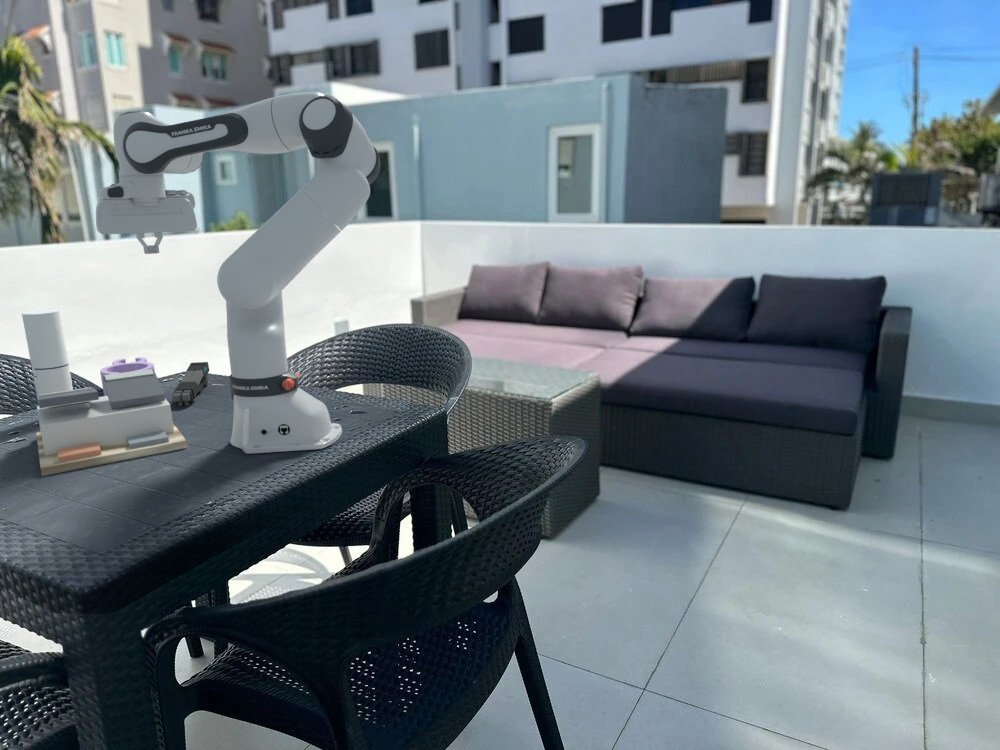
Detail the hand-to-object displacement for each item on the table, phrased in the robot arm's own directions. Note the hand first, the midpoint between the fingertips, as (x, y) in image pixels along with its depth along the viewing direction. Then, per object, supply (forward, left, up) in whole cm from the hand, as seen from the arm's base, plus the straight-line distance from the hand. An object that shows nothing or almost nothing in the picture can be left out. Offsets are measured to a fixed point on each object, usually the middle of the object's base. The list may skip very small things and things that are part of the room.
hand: (151, 253), depth 159 cm
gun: (+1, -13, -38) cm, 40 cm away
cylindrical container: (+24, +6, -37) cm, 45 cm away
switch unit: (+2, +23, -37) cm, 44 cm away
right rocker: (-1, +17, -27) cm, 32 cm away
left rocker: (+8, +24, -27) cm, 37 cm away
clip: (+21, -19, -38) cm, 47 cm away
